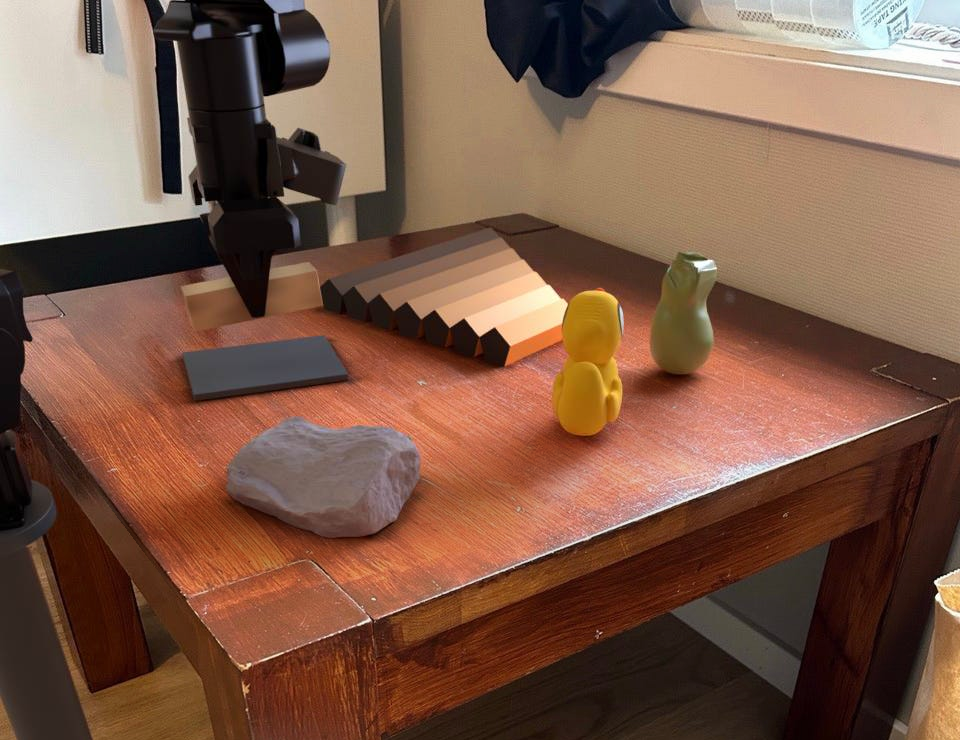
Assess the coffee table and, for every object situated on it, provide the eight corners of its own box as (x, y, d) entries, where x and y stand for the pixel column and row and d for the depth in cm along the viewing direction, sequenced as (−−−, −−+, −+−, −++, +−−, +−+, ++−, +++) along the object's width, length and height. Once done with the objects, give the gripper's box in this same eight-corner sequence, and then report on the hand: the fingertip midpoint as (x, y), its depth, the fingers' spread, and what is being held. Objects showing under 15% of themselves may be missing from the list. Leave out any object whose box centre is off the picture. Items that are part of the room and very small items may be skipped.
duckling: (560, 392, 81) (566, 270, 75) (625, 396, 80) (635, 274, 74) (541, 452, 72) (545, 319, 66) (613, 458, 71) (624, 324, 65)
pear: (665, 355, 88) (678, 241, 82) (719, 368, 85) (736, 251, 79) (635, 375, 84) (647, 256, 78) (692, 389, 82) (707, 268, 76)
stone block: (378, 568, 63) (432, 473, 69) (363, 512, 59) (422, 416, 65) (219, 542, 66) (284, 454, 72) (197, 488, 63) (267, 399, 69)
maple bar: (194, 332, 80) (185, 296, 78) (189, 321, 82) (180, 286, 81) (323, 305, 83) (317, 270, 81) (314, 296, 85) (308, 261, 83)
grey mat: (194, 401, 80) (193, 394, 80) (183, 358, 88) (182, 352, 87) (348, 380, 83) (348, 373, 83) (324, 340, 91) (324, 334, 91)
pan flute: (479, 254, 114) (320, 308, 99) (479, 224, 112) (316, 275, 97) (661, 298, 101) (510, 369, 86) (664, 265, 99) (510, 331, 84)
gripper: (359, 119, 68) (374, 335, 77) (307, 83, 83) (325, 270, 92) (197, 129, 65) (233, 353, 75) (173, 90, 80) (205, 282, 89)
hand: (255, 310), depth 82 cm, fingers closed on maple bar, 3 cm apart
